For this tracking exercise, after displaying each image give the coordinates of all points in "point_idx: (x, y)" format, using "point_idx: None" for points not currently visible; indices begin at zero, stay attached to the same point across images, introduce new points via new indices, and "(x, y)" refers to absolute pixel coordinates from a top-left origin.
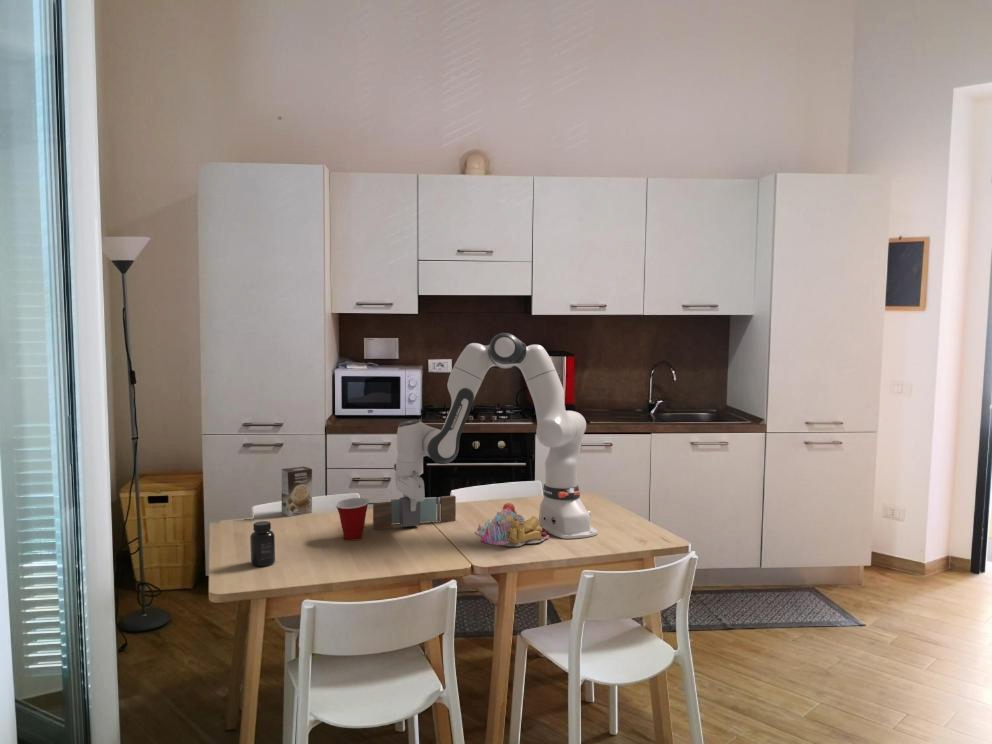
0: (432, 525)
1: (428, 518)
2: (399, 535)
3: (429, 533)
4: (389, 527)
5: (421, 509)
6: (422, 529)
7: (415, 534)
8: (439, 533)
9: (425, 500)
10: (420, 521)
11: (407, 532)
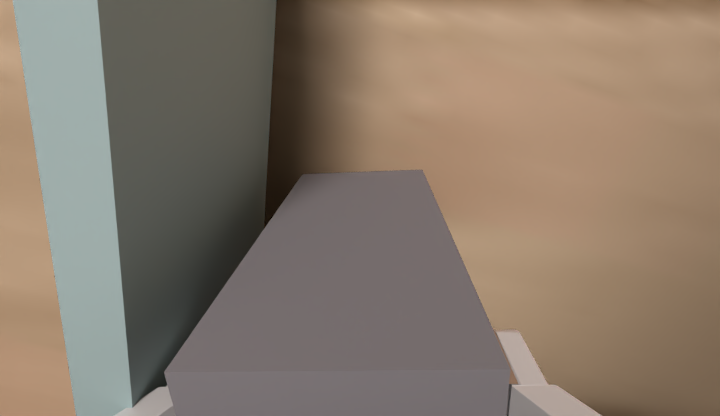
0: (383, 16)
1: (264, 25)
2: (552, 368)
3: (636, 135)
4: None
5: (219, 128)
6: (478, 159)
7: (593, 258)
8: (696, 36)
9: (138, 61)
10: (267, 120)
11: (505, 299)
